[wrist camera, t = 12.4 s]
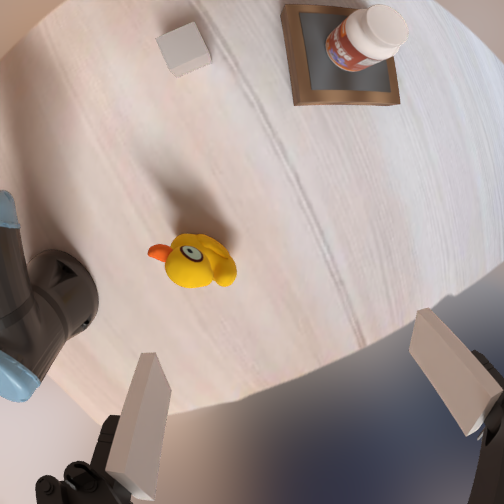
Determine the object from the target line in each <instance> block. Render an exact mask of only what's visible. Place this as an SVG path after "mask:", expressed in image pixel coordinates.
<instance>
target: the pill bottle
mask: <svg viewBox="0 0 504 504" xmlns="http://www.w3.org/2000/svg"><path fill="white" fill-rule="evenodd" d="M408 34H409V32H408V26H407V24H406V22H405V20H404V19H403V17H402V16H401V15H400V14H399V13H398V12H397V11H396V10H394V9H392V8H391V7H389V6H386V5H380V4H378V5H373V6H371V7H370V8H368V9H359V10H356V11H355V12H353V13H352V14H351V15H349V16H348V17H347V18H346V19H345V20H344V21H343V22H342V23H341V24H340V25H339V26H338V27H337V28H336V29H335V30H333V31H332V32H331V33H330V35H329V36H328V37H327V39H326V44H325V46H326V52H327V54H328V56H329V58H330V59H331V61H332V62H333V63H334V64H335V65H337V66H338V67H340V68H341V69H344V70H346V71H352V72H355V71H360V70H363V69H365V68H367V67H369V66H372V65H374V64H376V63H378V62H381V61H383V60H386V59H388V58H390V57H392V56H394V55H395V54H396V53H397V51H398V50H399V48H400V45H402V44H403V43H405V41H406V40H407V39H408Z"/></svg>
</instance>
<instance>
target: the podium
mask: <svg viewBox="0 0 504 504" xmlns="http://www.w3.org/2000/svg"><path fill="white" fill-rule="evenodd" d="M356 10H359V9H352V8H343V7H334V6H321V5H301V4H285V6H284V8H283V11H282V13H281V15H280V16H281V22H282V28H283V34H284V40H285V46H286V52H287V59H288V65H289V72H290V80H291V87H292V94H293V102H294V106H301V105H376V106H390V105H397V104H400V96H399V88H398V81H397V74H396V68H395V62H394V57H393V56H392V57H390V58H388V59H386V60H383V61H381V62H378V63H376V64H374V65H372V66H369V67H367V68H365V69H363V70H360V71H355V72H352V71H346V70H344V69H341V68H340V67H338V66H337V65H335V64H334V63H333V62H332V61H331V59H330V58H329V56H328V54H327V52H326V46H325V44H326V39H327V37H328V36H329V35H330V33H331V32H332V31H333V30H335V29H336V28H337V27H338V26H339V25H340V24H341V23H342V22H343V21H344V20H345V19H346V18H347V17H348V16H349V15H351V14H352V13H353V12H355V11H356Z"/></svg>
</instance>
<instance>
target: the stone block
mask: <svg viewBox="0 0 504 504" xmlns="http://www.w3.org/2000/svg"><path fill="white" fill-rule="evenodd" d="M155 39H156V41H157V43H158V46H159V48H160V50H161V52H162V55H163V57H164V59H165V62H166V64H167V66H168V68H169V70H170V71H171V72H172V74H173V75H174V76H175V77H176V78H179V77H181V76H183V75H185V74H187V73H190V72H192V71H194V70H197V69H199V68H201V67H204V66H206V65H209V64H211V63H212V61H211V57H210V54H209V51H208V49H207V47H206V45H205V43H204V41H203V38H202V36H201V34H200V32H199V30H198V28H197V26H196V24H195V22H192V23H189V24H187V25H184V26H182V27H179V28H177V29H175V30H173V31H170V32H168V33H166V34H164V35H162V36H159V37H157V38H155Z"/></svg>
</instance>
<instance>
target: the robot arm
mask: <svg viewBox="0 0 504 504" xmlns="http://www.w3.org/2000/svg"><path fill="white" fill-rule="evenodd" d="M98 304H99V301H98V293H97V290H96V287H95V284H94V282H93V280H92V278H91V276H90V275H89V273H88V272H87V270H86V269H85V268H84V267H83V266H82V264H81V263H80V262H78V261H77V260H76V259H75V258H73V257H72V256H70V255H69V254H67V253H65V252H62V251H58V250H46V251H43V252H41V253H40V254H38V255H37V256H35V257H34V258H33V259H32V260H31V261H30V262H29V263H28V265H27V266H26V261H25V256H24V251H23V246H22V241H21V235H20V224H19V223H18V219H17V214H16V208H15V202H14V199H13V197H12V195H11V194H10V193H9V192H8V191H5V190H0V396H1V397H3V398H5V399H8V400H11V401H13V402H25V401H27V400H28V399H29V398H30V397H31V396H32V394H33V393H34V391H35V390H36V388H38V387H39V386H40V384H41V382H42V380H43V379H44V377H45V375H46V373H47V372H48V370H49V368H50V367H51V365H52V363H53V362H54V360H55V358H56V357H57V355H58V353H59V352H60V350H61V349H62V347H63V345H64V344H65V342H66V341H67V340H69V339H70V338H72V337H74V336H76V335H77V334H79V333H81V332H82V331H84V330H85V329H87V328H88V327H89V325H90V324H91V322H92V321H93V319H94V318H95V316H96V314H97V311H98ZM409 352H410V354H411V355H412V356H413V358H414V359H415V361H416V362H417V363H418V365H419V366H420V368H421V369H422V371H423V372H424V373H425V375H426V376H427V378H428V379H429V380H430V382H431V383H432V385H433V386H434V388H435V389H436V391H437V392H438V394H439V395H440V397H441V398H442V400H443V401H444V403H445V404H446V406H447V407H448V409H449V410H450V412H451V414H452V415H453V417H454V418H455V420H456V421H457V423H458V424H459V426H460V428H461V429H462V431H463V433H464V434H465V436H468V435H470V434H471V433H473V432H475V431H476V430H478V429H479V427H480V426H481V425H482V423H483V422H484V423H485V425H486V426H485V428H484V429H483V430H482V432H481V433H480V435H479V436H478V438H477V440H479V439H480V438H481V437H482V435H483V438H482V444H481V450H480V456H479V461H478V466H477V470H476V474H475V479H474V483H473V487H472V490H471V494H470V497H469V501H468V504H504V378H503V377H502V376H501V375H500V373H499V372H498V371H497V370H496V369H495V368H494V367H493V365H492V364H491V363H489V361H488V360H487V359H486V358H485V356H484V355H483V354H481V353H479V352H478V351H476V350H473V351H471V352H470V351H469V350H468V349H467V347H466V346H465V345H464V344H463V343H462V342H461V341H460V340H459V339H458V338H457V336H456V335H454V333H453V332H452V331H451V330H450V329H449V328H448V327H447V326H446V325H445V324H444V323H443V322H442V321H441V320H440V319H439V318H438V317H437V316H436V315H435V314H434V313H433V312H432V310H431V309H430V308H425V309H422V310H418V311H417V315H416V320H415V325H414V329H413V334H412V338H411V342H410V347H409ZM171 392H172V390H171V388H170V386H169V383H168V381H167V379H166V376H165V374H164V372H163V369H162V367H161V364H160V362H159V360H158V357H157V355H156V353H141V355H140V358H139V361H138V364H137V367H136V370H135V373H134V376H133V379H132V382H131V385H130V388H129V391H128V394H127V397H126V400H125V403H124V406H123V409H122V413H121V416H119V415H110V416H109V417H108V418H107V419H106V421H105V422H104V423H103V426H102V429H101V432H100V435H99V438H98V442H97V444H96V447H95V450H94V454H93V457H92V460H91V464H90V465H89V464H87V463H86V462H84V461H76V462H72V463H71V464H70V465H68V466H67V468H66V469H65V471H64V481H58V480H57V479H56V478H55V477H53V476H51V475H45V476H42V477H41V478H40V479H38V481H37V483H36V487H35V491H36V500H37V504H133V503H132V502H131V501H130V500H131V494H132V495H133V496H135V497H136V498H137V499H143V500H151V501H154V500H155V493H156V485H157V478H158V471H159V464H160V457H161V450H162V444H163V438H164V431H165V425H166V420H167V414H168V408H169V402H170V397H171Z"/></svg>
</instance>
